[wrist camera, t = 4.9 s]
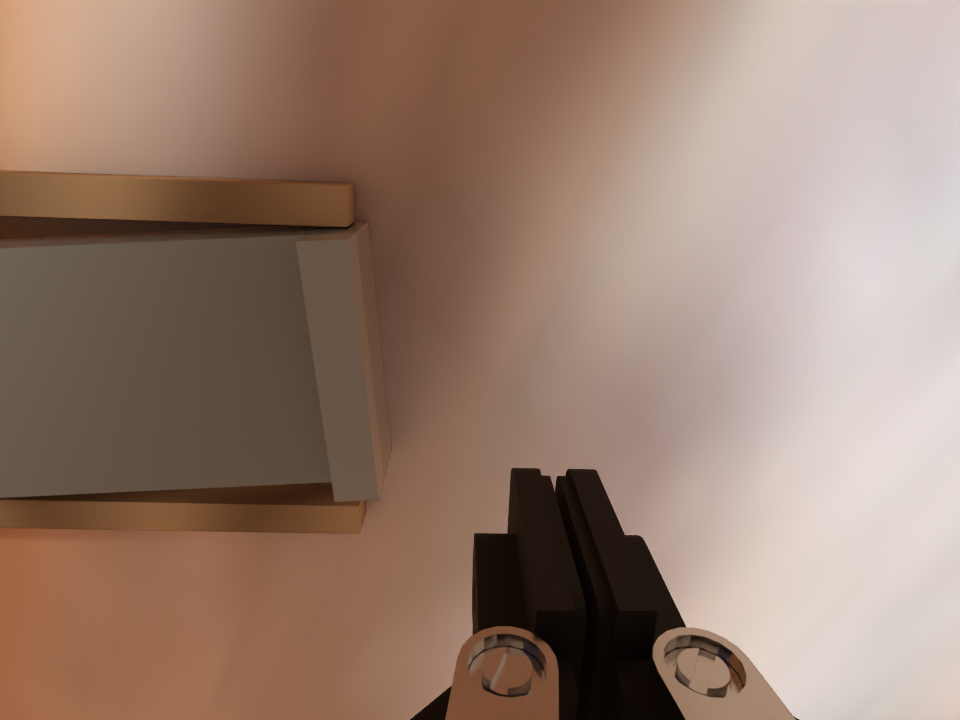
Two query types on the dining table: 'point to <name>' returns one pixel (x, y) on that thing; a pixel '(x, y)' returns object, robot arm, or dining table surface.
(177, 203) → the guide rails
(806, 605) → the dining table surface
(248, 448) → the slate gray sliding drawer
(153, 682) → the dining table surface
